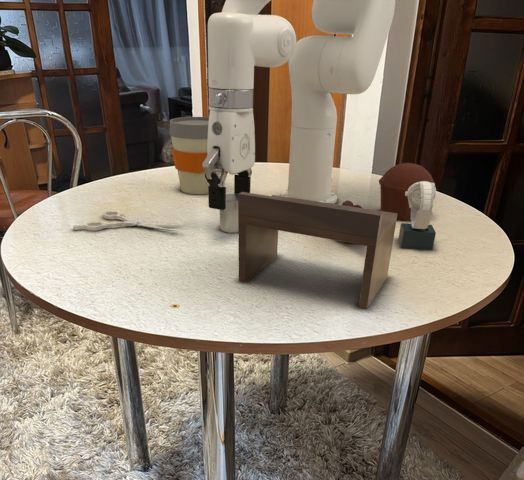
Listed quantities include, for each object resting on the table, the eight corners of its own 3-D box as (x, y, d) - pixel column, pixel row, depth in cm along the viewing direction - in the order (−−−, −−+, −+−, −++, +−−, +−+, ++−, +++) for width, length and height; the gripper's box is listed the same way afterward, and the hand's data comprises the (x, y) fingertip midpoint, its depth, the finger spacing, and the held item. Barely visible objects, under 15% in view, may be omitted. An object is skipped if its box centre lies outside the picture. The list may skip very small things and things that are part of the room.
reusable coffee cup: (162, 189, 120) (156, 120, 112) (200, 179, 129) (198, 114, 121) (199, 199, 114) (195, 127, 106) (237, 189, 122) (237, 121, 114)
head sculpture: (426, 237, 96) (438, 177, 90) (434, 253, 89) (447, 189, 83) (396, 236, 96) (406, 176, 90) (401, 251, 90) (412, 187, 84)
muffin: (381, 203, 114) (388, 156, 109) (432, 210, 111) (441, 162, 105) (369, 218, 105) (375, 167, 100) (423, 226, 101) (433, 174, 96)
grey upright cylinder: (227, 222, 101) (227, 192, 98) (250, 226, 99) (250, 195, 96) (215, 230, 97) (214, 198, 94) (238, 234, 95) (238, 202, 92)
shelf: (270, 255, 87) (273, 175, 80) (387, 277, 80) (401, 192, 73) (238, 281, 78) (238, 193, 71) (366, 309, 71) (380, 215, 64)
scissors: (100, 209, 103) (193, 217, 100) (100, 213, 104) (193, 221, 100) (72, 226, 95) (173, 235, 91) (73, 230, 95) (174, 239, 91)
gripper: (225, 106, 78) (225, 217, 87) (272, 99, 92) (267, 195, 100) (184, 102, 80) (187, 210, 89) (235, 95, 94) (233, 190, 103)
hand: (230, 202), depth 95 cm, fingers open, 9 cm apart
